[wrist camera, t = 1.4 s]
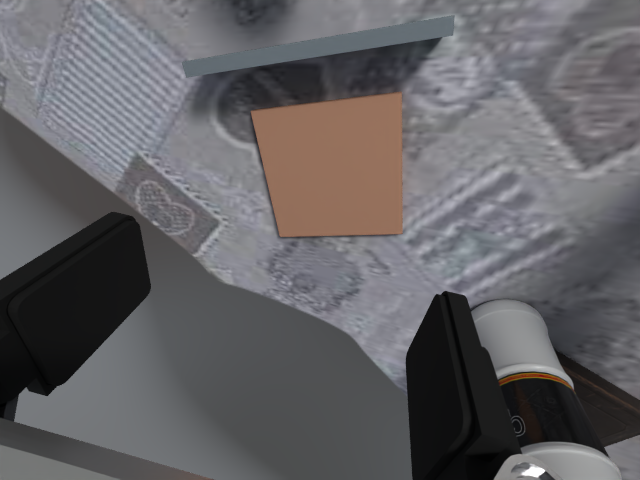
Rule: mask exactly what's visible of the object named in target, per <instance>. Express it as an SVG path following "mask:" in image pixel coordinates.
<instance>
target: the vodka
mask: <svg viewBox="0 0 640 480" xmlns="http://www.w3.org/2000/svg"><path fill="white" fill-rule="evenodd" d="M471 314H472V317H473V320H474V323H475V327H476V330H477V333H478V336H479V340H480V343H481V346H482V347H485V348H486V349H487V350H488V352H489V354H490V357H491V360H492V363H493V366H494V369H495V372H496V375H497V378H498V381H499V384H500V387H501V390H502V393H503V396H504V400H505V403H506V406H507V409H508V412H509V415H510V418H511V421H512V424H513V427H514V430H515V433H516V436H517V439H518V442H519V445H520V448H521V451H522V454H523V455H529V456H532V457H534V458H536V459H538V460H540V461H542V462H543V463H545V464H546V465H547V466H549V467H550V468H551V469H553V470H554V471H555V472H556V473H557V474H558V475H559V476H560V477H561V478H562V479H563V480H622V478H621V474H620V471H619V469H618V467H617V466H616V465H615V463H614V462H613V461H612V460H611V459H610V458H609V456H608V454H607V452H606V450H605V448H604V446H603V444H602V443H601V441H600V439H599V437H598V435H597V433H596V431H595V429H594V427H593V425H592V424H591V422H590V420H589V418H588V416H587V414H586V412H585V410H584V408H583V407H582V405H581V403H580V401H579V399H578V397H577V395H576V393H575V391H574V386H573V382H572V380H571V379H570V377H569V376H568V375H567V374H566V373H565V371H564V370H563V368H562V366H561V365H560V363H559V360H558V358H557V356H556V353H555V351H554V349H553V346H552V344H551V341H550V339H549V336H548V329H547V326H546V324H545V322H544V320H543V318H542V316H541V315H540V313H539V312H538V311H537V310H536V309H534V308H533V307H531V306H530V305H528V304H526V303H524V302H521V301H517V300H511V299H499V300H493V301H489V302H486V303H483V304H481V305H479V306H478V307H476V308H475V309H473V310H472V311H471Z"/></svg>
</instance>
